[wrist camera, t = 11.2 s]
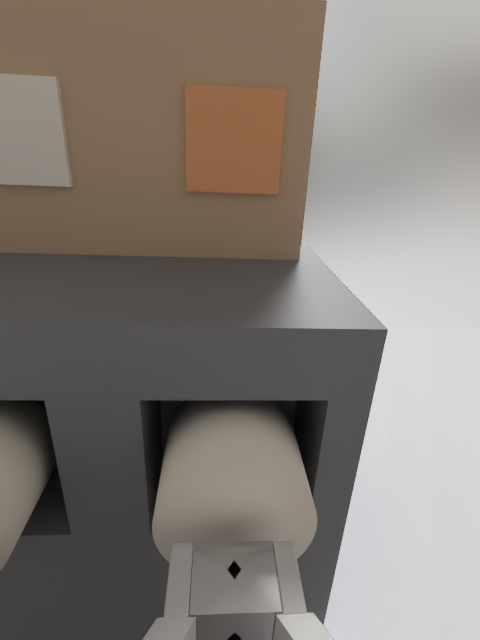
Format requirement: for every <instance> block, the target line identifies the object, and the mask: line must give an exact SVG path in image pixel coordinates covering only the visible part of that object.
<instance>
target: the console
mask: <svg viewBox="0 0 480 640" xmlns="http://www.w3.org/2000/svg"><path fill="white" fill-rule="evenodd" d="M326 3H327V1H326V0H0V400H34V401H36V402H37V403H38V404H40V405H41V406H42V407H43V408H44V409H45V410H46V411H47V416H48V421H49V426H50V431H51V436H52V441H53V446H54V451H55V456H56V461H57V464H56V466H55V468H54V470H53V472H52V474H51V476H50V478H49V480H48V482H47V484H46V486H45V488H44V490H43V492H42V494H41V496H40V498H39V500H38V502H37V504H36V506H35V508H34V510H33V512H32V514H31V516H30V518H29V520H28V522H27V524H26V525H25V527H24V529H23V531H22V533H21V535H20V537H19V539H18V541H17V543H16V545H15V547H14V549H13V551H12V553H11V555H10V557H9V559H8V561H7V563H6V564H5V566H4V567H3V568H2V570H1V571H0V640H142V639H143V638H144V636H145V635H146V633H147V632H148V630H149V629H150V627H151V626H152V624H153V623H154V622H155V620H156V619H157V618H160V617H164V608H165V599H166V591H167V582H168V573H169V565H170V563H169V562H168V561H167V560H166V559H165V558H164V557H163V556H162V554H161V553H160V552H159V550H158V548H157V547H156V545H155V542H154V539H153V534H152V521H153V516H154V510H155V504H156V498H157V492H158V486H159V481H160V475H161V469H162V463H163V457H164V452H165V446H166V440H167V434H168V429H169V424H170V421H171V419H172V417H173V415H174V413H175V411H176V410H177V409H178V408H179V406H180V405H181V404H182V403H183V402H184V401H185V400H278V401H279V402H280V403H281V404H282V405H283V406H284V407H285V409H286V410H287V412H288V414H289V416H290V418H291V422H292V425H293V429H294V432H295V436H296V440H297V443H298V447H299V451H300V454H301V458H302V461H303V465H304V469H305V472H306V476H307V479H308V483H309V487H310V490H311V494H312V498H313V501H314V505H315V508H316V512H317V529H316V532H315V536H314V538H313V540H312V542H311V544H310V545H309V547H308V548H307V549H306V551H305V552H304V553H303V554H302V555H301V556H300V557H299V558H298V559H297V563H298V568H299V574H300V579H301V584H302V589H303V594H304V599H305V604H306V609H307V612H311V613H314V614H315V615H316V617H317V618H318V619H319V620H320V622H321V623H322V624H324V619H325V615H326V610H327V606H328V601H329V596H330V592H331V587H332V583H333V578H334V573H335V569H336V564H337V560H338V555H339V550H340V546H341V541H342V537H343V532H344V528H345V523H346V518H347V514H348V509H349V505H350V500H351V495H352V491H353V486H354V482H355V477H356V472H357V468H358V463H359V459H360V454H361V449H362V445H363V440H364V436H365V431H366V427H367V422H368V417H369V413H370V408H371V404H372V399H373V394H374V390H375V385H376V381H377V376H378V371H379V367H380V362H381V358H382V353H383V348H384V344H385V339H386V335H387V330H388V329H387V328H386V327H385V326H384V325H383V324H382V323H381V322H380V321H379V320H378V319H377V318H376V317H375V316H374V315H373V314H372V313H371V312H370V311H369V309H368V308H367V307H365V305H364V304H363V303H362V302H361V301H360V300H359V299H358V298H357V297H356V296H355V295H354V294H353V293H352V292H351V291H350V290H349V289H348V287H347V286H346V285H345V284H343V282H342V281H341V280H340V279H339V278H338V277H337V276H336V275H335V274H334V273H333V272H332V271H331V270H330V269H329V268H328V267H327V265H325V263H324V262H323V261H322V260H321V259H320V258H319V257H318V256H317V255H316V254H315V253H314V252H313V251H312V250H311V249H310V248H309V247H308V246H307V245H301V239H302V230H303V220H304V211H305V202H306V192H307V183H308V173H309V164H310V154H311V145H312V135H313V126H314V117H315V107H316V98H317V88H318V79H319V70H320V60H321V50H322V41H323V31H324V23H325V13H326Z"/></svg>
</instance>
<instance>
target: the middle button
mask: <svg viewBox="0 0 480 640" xmlns="http://www.w3.org/2000/svg"><path fill="white" fill-rule="evenodd" d="M56 464H57V461H56V456H55V451H54V446H53V441H52V436H51V431H50V426H49V421H48V416H47V411H46V410H45V409H44V408H43V407H42V406H41V405H40V404H38V403H37V402H36V401H34V400H0V571H1V570H2V568H3V567H4V566H5V564H6V563H7V561H8V559H9V557H10V555H11V553H12V551H13V549H14V547H15V545H16V543H17V541H18V539H19V537H20V535H21V533H22V531H23V529H24V527H25V525H26V524H27V522H28V520H29V518H30V516H31V514H32V512H33V510H34V508H35V506H36V504H37V502H38V500H39V498H40V496H41V494H42V492H43V490H44V488H45V486H46V484H47V482H48V480H49V478H50V476H51V474H52V472H53V470H54V468H55V466H56Z"/></svg>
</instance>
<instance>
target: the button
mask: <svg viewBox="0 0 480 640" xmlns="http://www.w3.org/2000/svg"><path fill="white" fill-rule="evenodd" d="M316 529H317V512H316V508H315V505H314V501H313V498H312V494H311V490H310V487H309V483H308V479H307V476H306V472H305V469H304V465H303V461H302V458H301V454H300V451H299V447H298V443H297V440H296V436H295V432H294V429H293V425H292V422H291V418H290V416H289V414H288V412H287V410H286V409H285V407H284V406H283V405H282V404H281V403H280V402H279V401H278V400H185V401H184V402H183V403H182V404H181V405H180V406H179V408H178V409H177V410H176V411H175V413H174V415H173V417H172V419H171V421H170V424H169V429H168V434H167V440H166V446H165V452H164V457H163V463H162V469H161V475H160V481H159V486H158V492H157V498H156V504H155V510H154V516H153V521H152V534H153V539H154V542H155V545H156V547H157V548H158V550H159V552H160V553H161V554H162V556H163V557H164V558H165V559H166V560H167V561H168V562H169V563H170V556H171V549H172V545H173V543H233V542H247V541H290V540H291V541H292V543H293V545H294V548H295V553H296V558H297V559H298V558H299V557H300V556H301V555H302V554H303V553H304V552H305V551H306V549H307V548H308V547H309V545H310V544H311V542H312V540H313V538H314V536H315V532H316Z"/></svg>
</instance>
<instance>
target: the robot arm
mask: <svg viewBox="0 0 480 640" xmlns="http://www.w3.org/2000/svg"><path fill="white" fill-rule="evenodd" d="M142 640H334V638H333V637H332V636H331V635H330V633H329V632H328V631H327V629H326V628H325V627H324V626H323V624H322V623H321V622H320V620H319V619H318V618H317V617H316V615H315V614H314V613H311V612H307V609H306V604H305V599H304V594H303V589H302V584H301V579H300V574H299V568H298V563H297V558H296V553H295V548H294V545H293V543H292V541H291V540H290V541H247V542H233V543H173V545H172V549H171V556H170V565H169V573H168V582H167V591H166V599H165V608H164V617H160V618H157V619H156V620H155V622H154V623H153V624H152V626H151V627H150V629H149V630H148V632H147V633H146V635H145V636H144V638H143V639H142Z"/></svg>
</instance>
